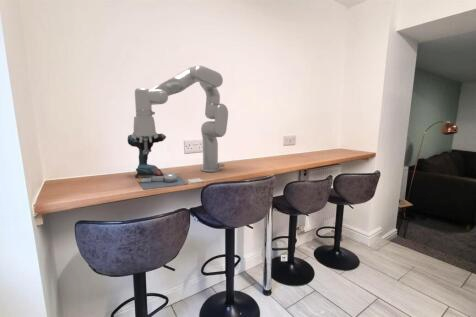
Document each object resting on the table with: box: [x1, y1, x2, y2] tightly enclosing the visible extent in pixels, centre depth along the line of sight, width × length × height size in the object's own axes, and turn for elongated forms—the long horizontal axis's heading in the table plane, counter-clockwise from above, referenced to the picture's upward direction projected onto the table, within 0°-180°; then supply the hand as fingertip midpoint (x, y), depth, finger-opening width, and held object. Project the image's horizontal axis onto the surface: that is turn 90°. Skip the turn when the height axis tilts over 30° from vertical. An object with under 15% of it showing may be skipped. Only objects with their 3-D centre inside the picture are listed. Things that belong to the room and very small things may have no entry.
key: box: [142, 139, 150, 155], centre depth 123 cm, size 3×3×8 cm
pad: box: [186, 177, 204, 184], centre depth 129 cm, size 7×7×1 cm
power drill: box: [127, 133, 167, 179], centre depth 135 cm, size 9×23×25 cm, turn 78°
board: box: [137, 175, 190, 191], centre depth 126 cm, size 22×19×1 cm
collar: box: [138, 172, 178, 183], centre depth 126 cm, size 19×7×4 cm, turn 95°
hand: (145, 149), depth 123 cm, fingers closed on key, 2 cm apart
